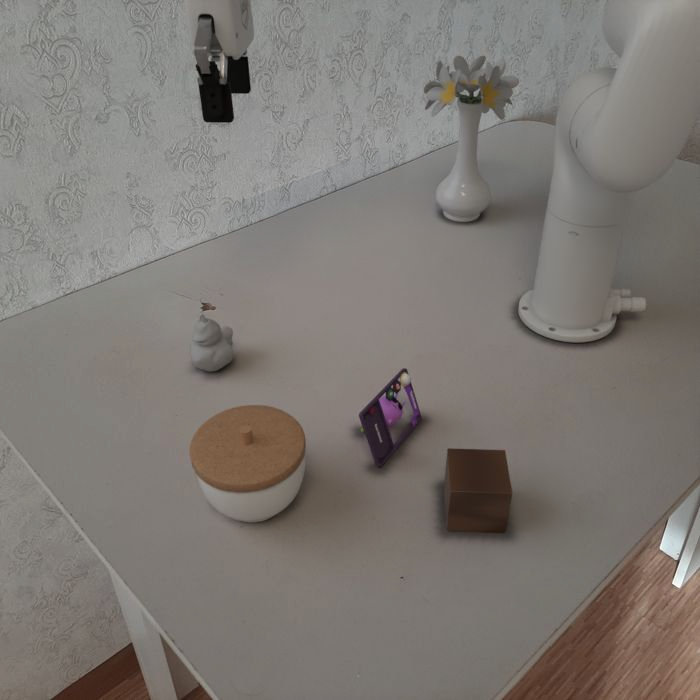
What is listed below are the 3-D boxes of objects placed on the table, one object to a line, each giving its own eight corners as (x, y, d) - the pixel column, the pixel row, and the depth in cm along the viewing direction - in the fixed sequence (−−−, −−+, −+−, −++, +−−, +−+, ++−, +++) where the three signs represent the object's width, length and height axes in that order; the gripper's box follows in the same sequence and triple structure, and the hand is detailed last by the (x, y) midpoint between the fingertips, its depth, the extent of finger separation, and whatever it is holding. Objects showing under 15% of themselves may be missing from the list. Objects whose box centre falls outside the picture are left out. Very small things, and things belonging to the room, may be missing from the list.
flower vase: (511, 196, 126) (530, 47, 111) (483, 243, 112) (501, 80, 97) (440, 185, 130) (449, 39, 115) (405, 229, 117) (411, 70, 102)
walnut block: (498, 489, 72) (505, 449, 68) (505, 533, 67) (512, 493, 64) (443, 487, 72) (447, 447, 69) (446, 531, 67) (450, 491, 64)
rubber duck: (180, 369, 88) (170, 315, 83) (217, 342, 92) (209, 290, 87) (213, 384, 85) (204, 330, 80) (249, 356, 90) (242, 303, 85)
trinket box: (205, 463, 75) (192, 395, 69) (307, 456, 76) (302, 387, 70) (196, 546, 66) (180, 476, 61) (311, 537, 67) (306, 467, 61)
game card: (367, 415, 71) (412, 367, 77) (327, 410, 74) (373, 365, 80) (385, 469, 73) (427, 419, 79) (346, 462, 77) (389, 415, 83)
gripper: (228, -59, 62) (247, 135, 72) (261, -82, 76) (274, 83, 86) (143, -59, 62) (174, 134, 73) (192, -82, 76) (212, 83, 86)
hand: (228, 106), depth 79 cm, fingers open, 9 cm apart
